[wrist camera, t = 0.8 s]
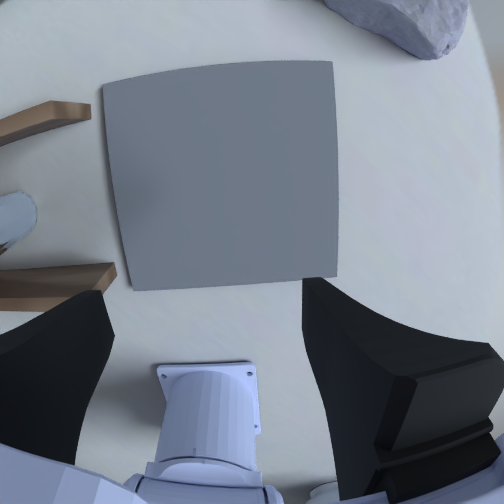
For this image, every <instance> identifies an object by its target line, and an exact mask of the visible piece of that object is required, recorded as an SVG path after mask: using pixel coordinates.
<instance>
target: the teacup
mask: <svg viewBox="0 0 504 504" xmlns="http://www.w3.org/2000/svg"><path fill="white" fill-rule="evenodd" d="M310 497H311V499H310V500H309V501H307V502H306V503H305V504H328V503H333V502H339V501H340V500H339V491H338V483H337V482H330V483H326V484H323V485H321V486H318V487H316V488H315V489H313V490H312V491H311V492H310Z"/></svg>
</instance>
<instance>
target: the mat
mask: <svg viewBox="0 0 504 504" xmlns="http://www.w3.org/2000/svg"><path fill="white" fill-rule="evenodd" d="M103 98H104V112H105V124H106V134H107V144H108V153H109V161H110V169H111V176H112V183H113V190H114V196H115V202H116V208H117V214H118V220H119V225H120V231H121V236H122V241H123V246H124V251H125V256H126V260H127V265H128V269H129V274H130V278H131V283H132V287H133V291H148V290H167V289H184V288H201V287H216V286H231V285H245V284H259V283H272V282H284V281H296V280H302V278H311V277H321V278H330V277H337V261H338V214H339V191H338V144H337V121H336V103H335V88H334V75H333V63H332V62H331V61H262V62H244V63H230V64H219V65H210V66H201V67H193V68H185V69H179V70H172V71H166V72H160V73H154V74H149V75H144V76H139V77H134V78H129V79H124V80H120V81H116V82H112V83H107V84H103Z"/></svg>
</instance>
